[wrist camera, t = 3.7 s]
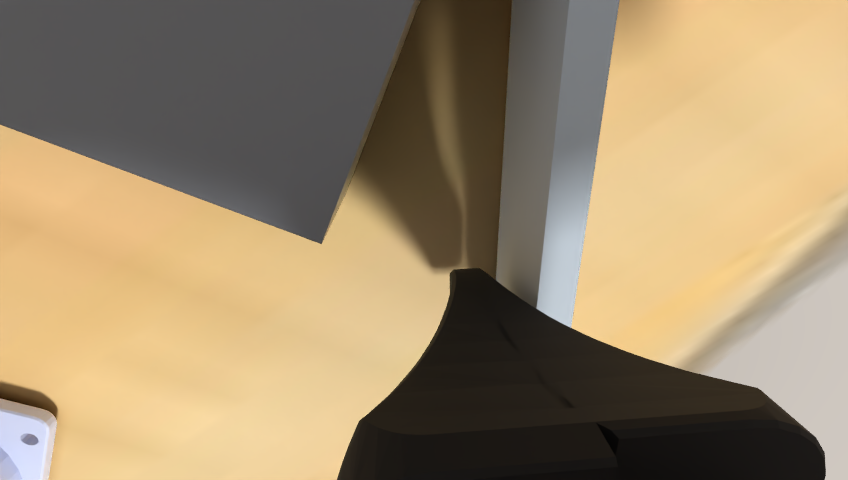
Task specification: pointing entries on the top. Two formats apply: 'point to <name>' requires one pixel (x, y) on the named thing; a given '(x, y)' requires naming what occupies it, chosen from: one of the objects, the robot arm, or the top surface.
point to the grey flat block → (209, 93)
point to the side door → (551, 145)
